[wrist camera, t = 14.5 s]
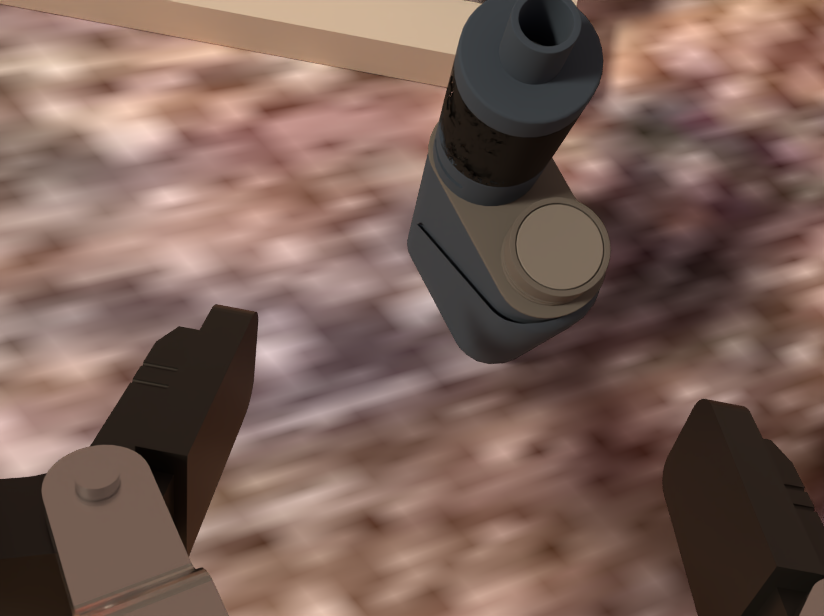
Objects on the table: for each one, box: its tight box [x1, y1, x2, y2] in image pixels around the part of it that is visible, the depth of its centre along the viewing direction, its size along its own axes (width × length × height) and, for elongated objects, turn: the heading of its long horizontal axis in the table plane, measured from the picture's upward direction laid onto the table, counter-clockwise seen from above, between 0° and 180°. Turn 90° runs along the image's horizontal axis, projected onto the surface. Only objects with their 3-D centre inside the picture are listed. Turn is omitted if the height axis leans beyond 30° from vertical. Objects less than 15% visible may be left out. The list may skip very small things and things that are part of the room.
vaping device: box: [407, 0, 611, 364], centre depth 16 cm, size 3×5×12 cm, turn 27°
